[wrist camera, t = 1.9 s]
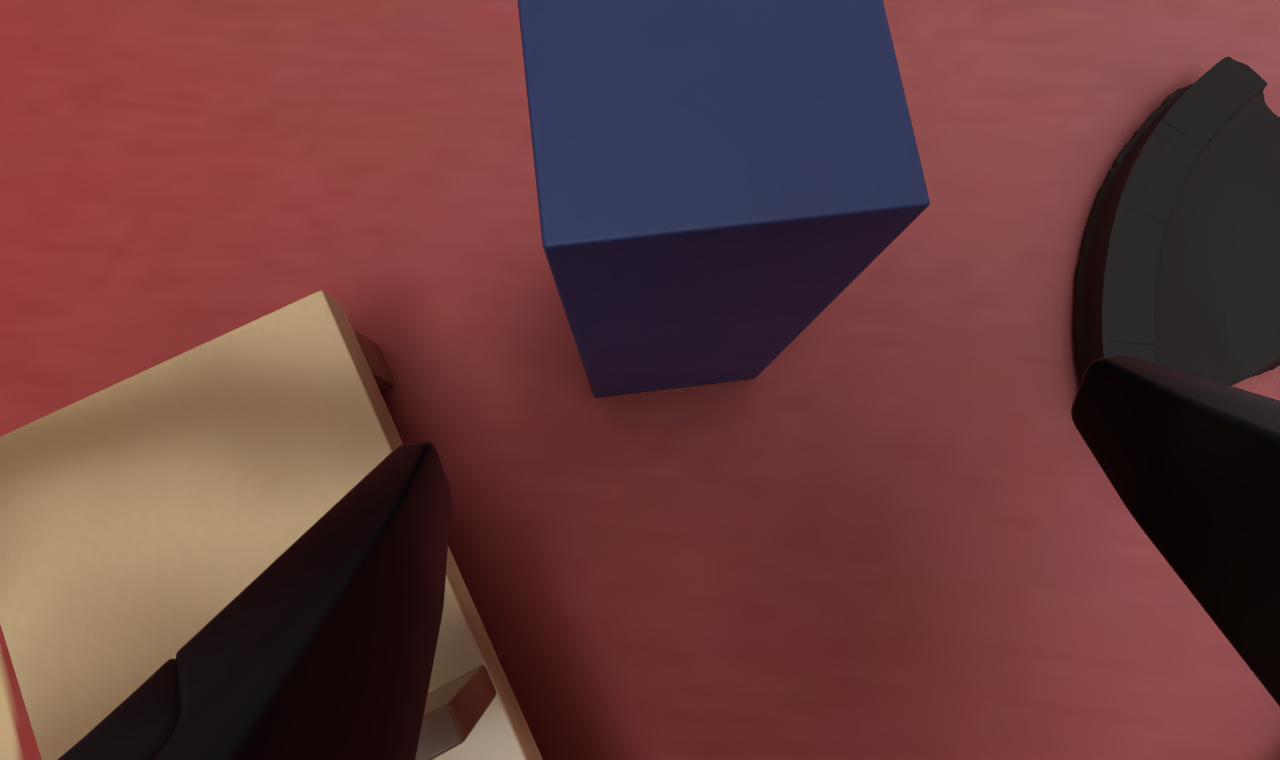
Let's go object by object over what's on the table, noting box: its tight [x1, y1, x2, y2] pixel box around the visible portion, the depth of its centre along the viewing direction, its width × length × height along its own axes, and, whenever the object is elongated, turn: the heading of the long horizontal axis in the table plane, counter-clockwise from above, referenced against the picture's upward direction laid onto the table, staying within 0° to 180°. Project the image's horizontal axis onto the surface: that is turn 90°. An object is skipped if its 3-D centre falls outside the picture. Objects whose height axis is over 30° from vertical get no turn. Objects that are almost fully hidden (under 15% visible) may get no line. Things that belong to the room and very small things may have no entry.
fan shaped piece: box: [1075, 57, 1280, 386], centre depth 21 cm, size 8×14×2 cm, turn 138°
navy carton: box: [518, 0, 930, 398], centre depth 15 cm, size 5×6×12 cm
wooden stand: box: [0, 290, 543, 760], centre depth 15 cm, size 18×10×8 cm, turn 27°
